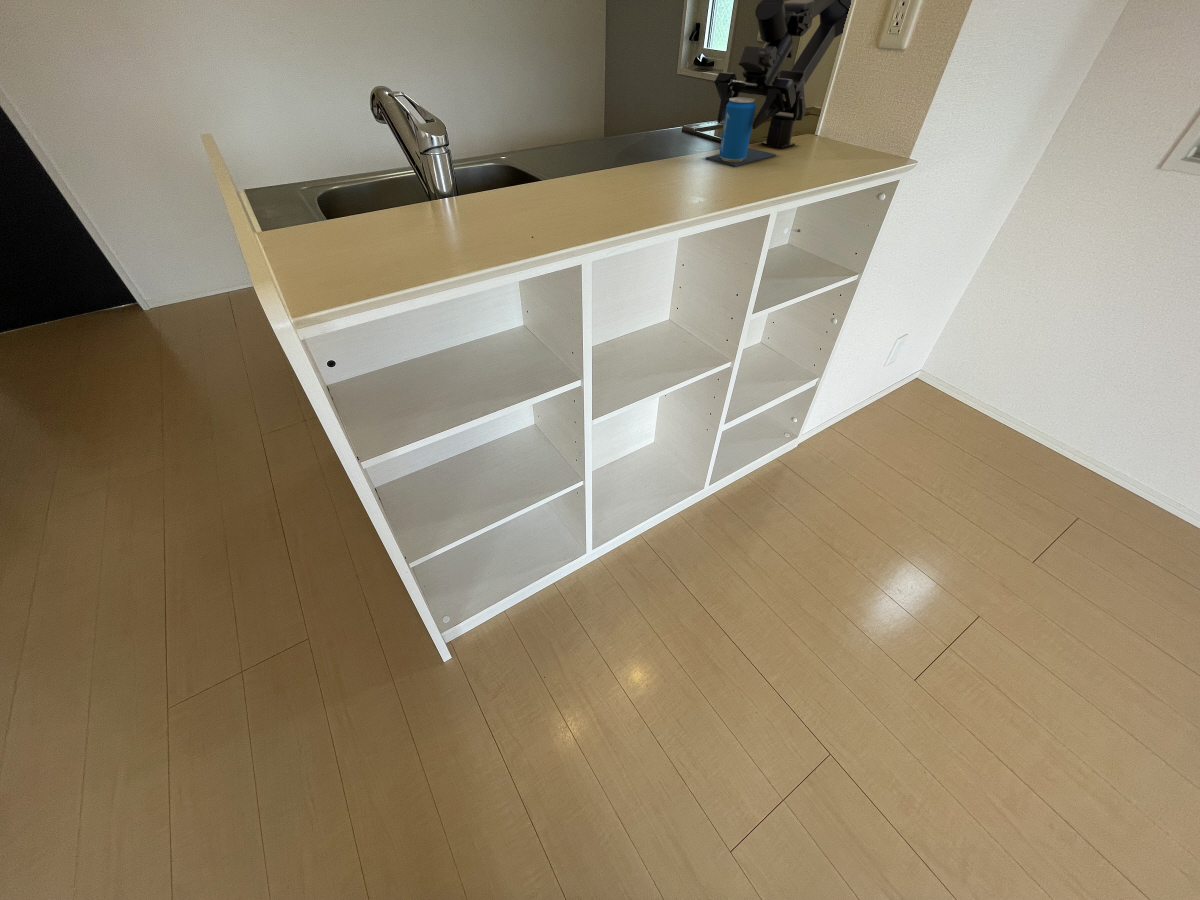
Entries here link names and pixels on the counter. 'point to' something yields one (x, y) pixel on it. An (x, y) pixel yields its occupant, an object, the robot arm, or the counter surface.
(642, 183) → the counter surface
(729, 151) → the beverage can
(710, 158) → the mat
